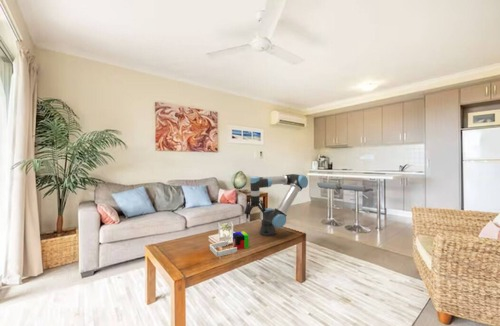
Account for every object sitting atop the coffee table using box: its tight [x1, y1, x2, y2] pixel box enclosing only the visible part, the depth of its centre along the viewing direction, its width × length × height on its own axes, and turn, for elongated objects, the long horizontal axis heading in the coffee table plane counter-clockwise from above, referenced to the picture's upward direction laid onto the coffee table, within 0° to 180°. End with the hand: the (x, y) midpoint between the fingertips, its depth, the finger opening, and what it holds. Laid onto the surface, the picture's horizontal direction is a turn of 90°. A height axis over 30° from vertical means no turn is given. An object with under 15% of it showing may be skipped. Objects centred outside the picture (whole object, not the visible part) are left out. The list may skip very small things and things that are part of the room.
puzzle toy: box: [232, 230, 250, 251], centre depth 174 cm, size 10×10×10 cm
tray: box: [208, 240, 238, 258], centre depth 166 cm, size 16×16×4 cm
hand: (255, 220), depth 181 cm, fingers open, 12 cm apart
